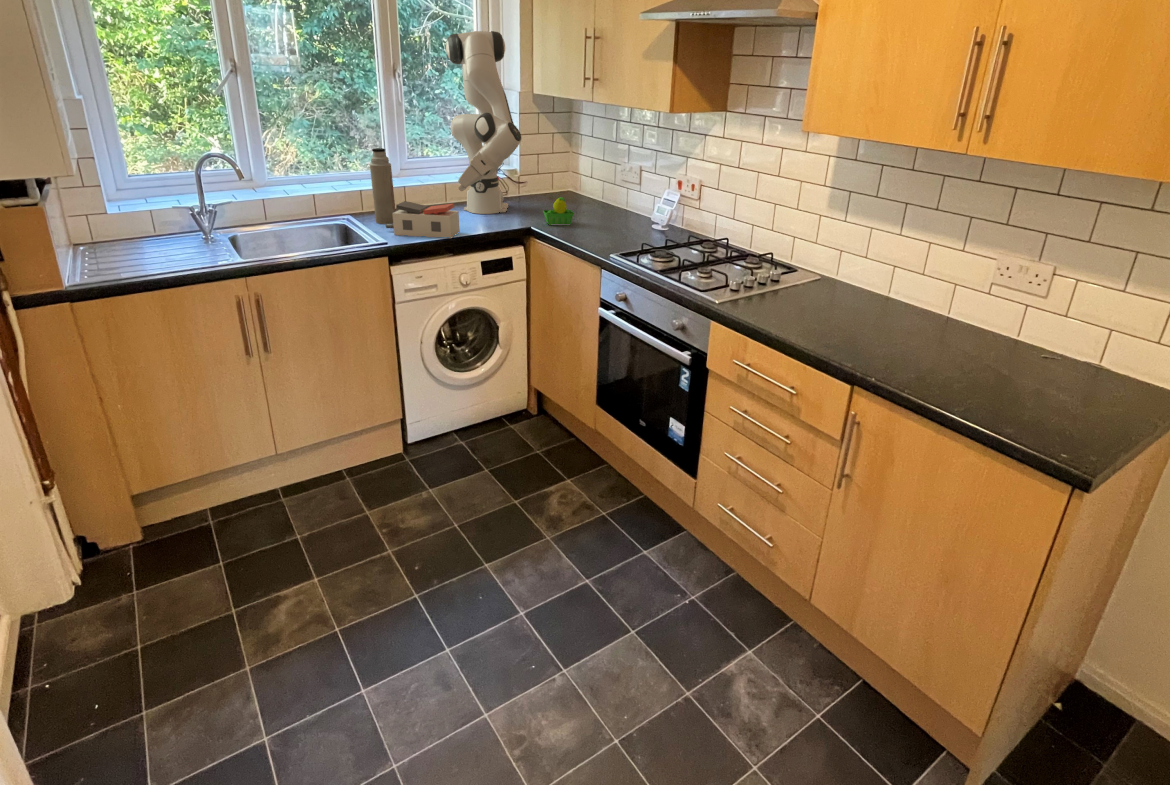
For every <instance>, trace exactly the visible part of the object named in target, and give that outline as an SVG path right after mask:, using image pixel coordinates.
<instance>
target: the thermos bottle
mask: <svg viewBox="0 0 1170 785" xmlns="http://www.w3.org/2000/svg"><path fill="white" fill-rule="evenodd" d="M371 151H372V157H371V158H370V164H369V170H370V178H371V179H370V180H371V181H370V182H371V189H372V196H373V205H374V206H373V207H374V216H375V217H374V218H375V223H376V224H379V225H386V224H393V214H392V213H394V212H396V211H397V210H396V203H395V193H394V182H393V172H392V171H393V170H392V163H390V160H389V157H388V156H387V155H386V148H380V147H378V148H377V147H375V148H371Z"/></svg>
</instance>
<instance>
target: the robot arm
mask: <svg viewBox="0 0 1170 785" xmlns="http://www.w3.org/2000/svg"><path fill="white" fill-rule="evenodd" d="M445 52H446V54H447V57H448V59H449V62H451V63H452V64H454V65H462V70H461V71H462V81H463V91H464V92H463V93H464V98H465V100H466V102H467V103H468V104H469V105H471V106H473V107H475V108H476V109H477V110H478V112H479V114H477V113H465V114H458V115H455V116H454V117H453V119H452V120H451V122H450V133H451V135H452V136H453V138H454V139H455V140H456V141H457V142H458V143H460V144H461V146H462V147H463V148H464V150H465V152H466V155H467V157H468V162H469V165H468V166H467V167H466V169H465V170H464V171H463V172H462V174H461V175H460V177H458V180H457V182H458V183H459V184H460V186H459V187H458V190H459V191H460V192H463V191H465V190H466V189H467V188H468V187H469V189H468V190H466V192H467V193H466V206H464V207H463V210H464V211H467V212H469V213H472V214H481V215H490V214H498V213H499V212H500V213H507V212H508V209H509V206H508V205H509V203H507V202H504V201H505V200H504V192H503V191H502V189H501V188H500V186H499V185H500V184H499V182H500V177H499V175H497V173H498V172H497V170H499V168H500V167H501V166H502V164H503V162H504V161H505V160H506V159H508V158H509V157H510V156H511V155H512V154H513V153H514V152H515V151H516V149H517V148H518V147H519V145H520V143H521V141H522V134H521V132H520V130H519V128H518V127H517V126H516V124H514V121H513V120H514V119H513V118H512V113H511V110H510V106H509V102H508V99H507V95H506V92H505V89H504V86H503V84H502V82H501V79H500V75H499V71H498V67H497V64H496V63H498V62H500V61H502V60H503V58H504V57H505V53H506V42H505V40H504V38H503V35H502V34H501V33H500V32H498V31H494V30H491V31H484V30H475V31H469V32H462V33H452V34H450V35H448V37H447V40H446V42H445ZM507 208H508V209H507ZM506 211H507V212H506Z"/></svg>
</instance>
